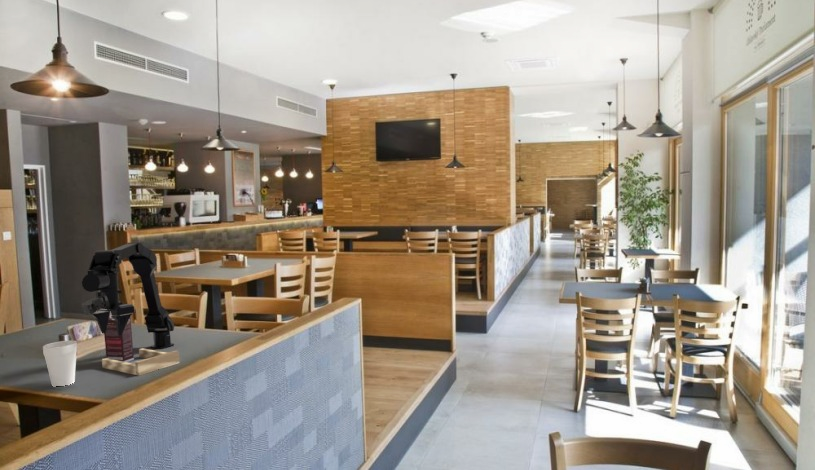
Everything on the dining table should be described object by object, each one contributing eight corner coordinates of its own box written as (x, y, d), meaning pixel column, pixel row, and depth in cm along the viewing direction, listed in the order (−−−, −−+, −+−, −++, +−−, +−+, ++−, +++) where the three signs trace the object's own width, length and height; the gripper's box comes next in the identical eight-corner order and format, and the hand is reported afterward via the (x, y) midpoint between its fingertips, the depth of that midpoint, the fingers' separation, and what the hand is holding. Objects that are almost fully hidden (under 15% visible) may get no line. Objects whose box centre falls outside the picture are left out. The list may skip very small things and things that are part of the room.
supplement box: (134, 359, 210) (131, 317, 209) (124, 363, 206) (120, 320, 205) (116, 358, 213) (112, 316, 212) (105, 362, 208) (102, 319, 207)
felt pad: (116, 366, 202) (116, 366, 202) (142, 359, 210) (142, 358, 210) (140, 371, 194) (140, 371, 194) (166, 363, 203) (166, 363, 203)
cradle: (102, 367, 202) (101, 355, 201) (143, 356, 215) (142, 344, 214) (138, 375, 190) (137, 362, 190) (179, 362, 203) (178, 350, 203)
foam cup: (56, 380, 189) (52, 341, 188) (85, 378, 190) (82, 339, 189) (40, 389, 180) (36, 349, 179) (71, 387, 181) (67, 347, 180)
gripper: (68, 290, 189) (71, 337, 190) (101, 292, 179) (104, 341, 180) (101, 285, 199) (104, 330, 199) (134, 287, 189) (137, 334, 189)
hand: (111, 334), depth 192 cm, fingers open, 9 cm apart
